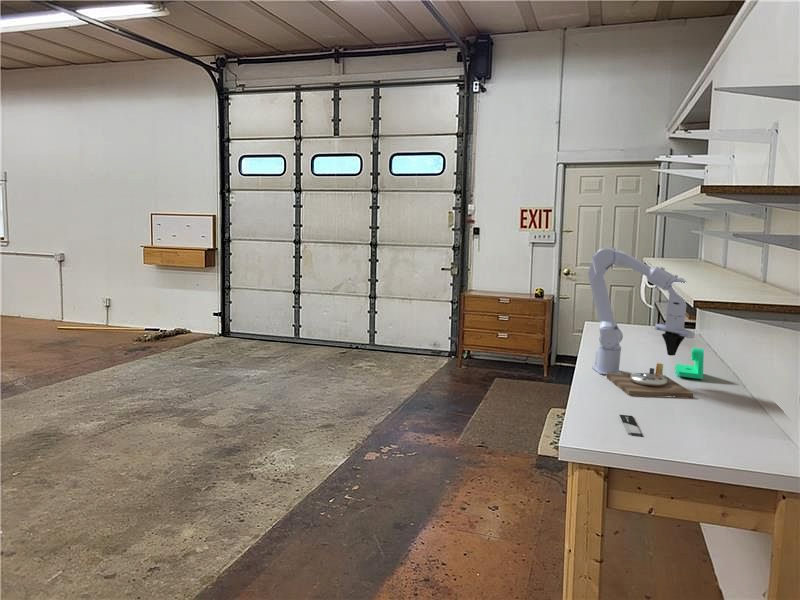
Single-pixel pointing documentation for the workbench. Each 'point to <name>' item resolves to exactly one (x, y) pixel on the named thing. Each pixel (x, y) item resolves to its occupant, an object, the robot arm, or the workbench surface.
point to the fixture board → (648, 387)
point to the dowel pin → (651, 371)
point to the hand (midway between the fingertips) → (671, 355)
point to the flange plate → (650, 377)
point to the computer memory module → (631, 425)
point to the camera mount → (694, 370)
